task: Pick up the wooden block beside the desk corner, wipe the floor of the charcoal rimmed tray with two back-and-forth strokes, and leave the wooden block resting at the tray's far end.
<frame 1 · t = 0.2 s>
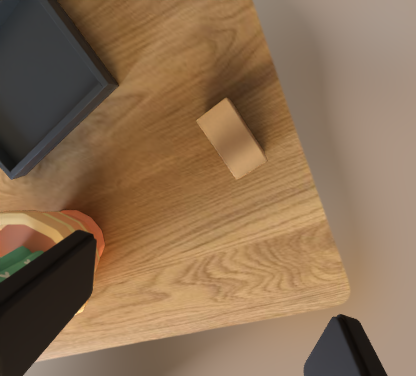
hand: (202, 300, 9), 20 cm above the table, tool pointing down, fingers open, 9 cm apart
wooden block: (234, 135, 26), on the table
potted cactus: (78, 236, 35), on the table
tray: (30, 89, 29), on the table
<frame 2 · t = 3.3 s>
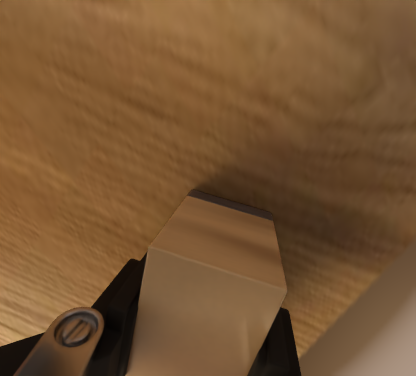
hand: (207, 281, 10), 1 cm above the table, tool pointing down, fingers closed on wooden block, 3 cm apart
wooden block: (210, 266, 11), on the table, touching gripper
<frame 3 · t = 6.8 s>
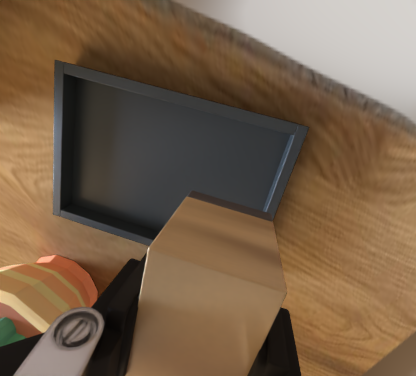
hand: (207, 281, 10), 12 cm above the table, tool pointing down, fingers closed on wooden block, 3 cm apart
wooden block: (210, 267, 11), point 10 cm above the table, touching gripper
potted cactus: (65, 285, 28), on the table
tray: (168, 171, 21), on the table
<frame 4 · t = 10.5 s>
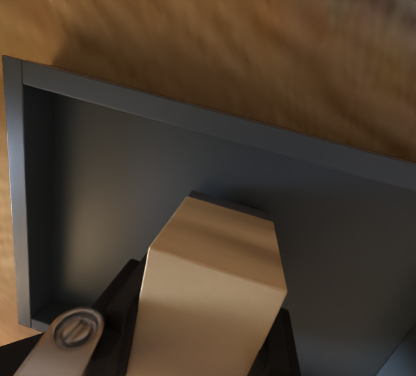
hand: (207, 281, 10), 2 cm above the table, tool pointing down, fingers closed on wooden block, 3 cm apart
wooden block: (210, 266, 11), point 1 cm above the table, touching gripper
tray: (223, 257, 12), on the table
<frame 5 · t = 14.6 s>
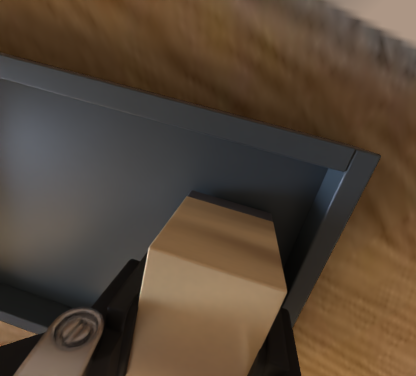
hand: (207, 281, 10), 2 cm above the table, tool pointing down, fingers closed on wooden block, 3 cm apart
wooden block: (210, 266, 11), point 1 cm above the table, touching gripper
tray: (106, 222, 12), on the table
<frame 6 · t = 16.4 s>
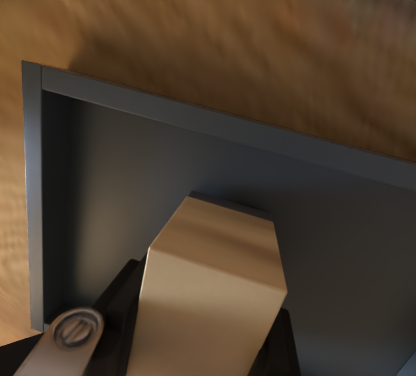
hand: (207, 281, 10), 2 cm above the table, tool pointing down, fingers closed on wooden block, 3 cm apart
wooden block: (210, 266, 11), point 1 cm above the table, touching gripper
tray: (237, 261, 12), on the table
when the fingers open (2 cm above the table, at t = 18.0 s): wooden block stays where it is, resting on tray.
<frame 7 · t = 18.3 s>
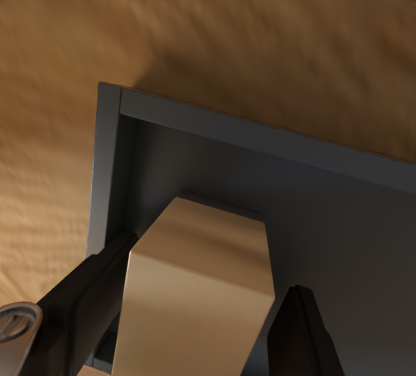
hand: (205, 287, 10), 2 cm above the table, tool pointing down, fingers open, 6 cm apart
wooden block: (202, 268, 11), point 1 cm above the table, touching tray
tray: (308, 293, 11), on the table
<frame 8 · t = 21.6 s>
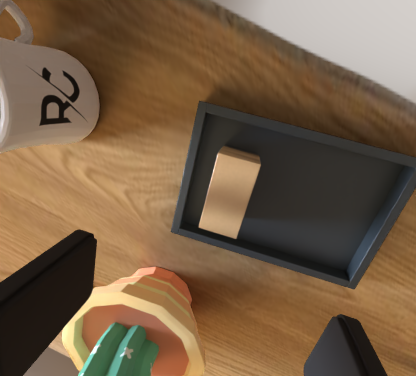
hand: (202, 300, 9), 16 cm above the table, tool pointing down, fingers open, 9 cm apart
mug: (60, 82, 24), on the table
wooden block: (231, 182, 24), point 1 cm above the table, touching tray
potted cactus: (159, 294, 31), on the table
tray: (279, 194, 24), on the table
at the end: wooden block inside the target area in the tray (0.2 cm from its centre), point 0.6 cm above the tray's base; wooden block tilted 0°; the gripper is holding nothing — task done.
